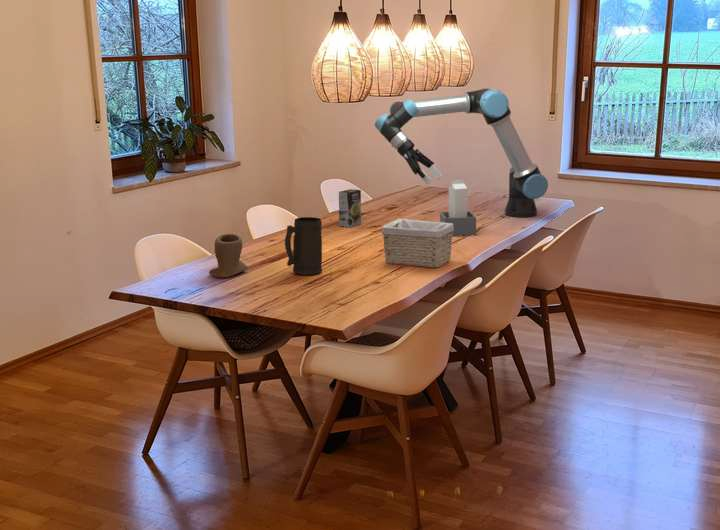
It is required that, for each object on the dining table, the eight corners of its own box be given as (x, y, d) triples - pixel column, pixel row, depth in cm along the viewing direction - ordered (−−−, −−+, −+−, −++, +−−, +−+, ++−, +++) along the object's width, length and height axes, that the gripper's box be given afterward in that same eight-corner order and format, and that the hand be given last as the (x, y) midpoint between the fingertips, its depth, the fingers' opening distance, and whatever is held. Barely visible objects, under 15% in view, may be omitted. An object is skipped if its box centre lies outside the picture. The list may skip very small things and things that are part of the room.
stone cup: (228, 281, 305) (226, 240, 301) (204, 277, 311) (201, 236, 307) (257, 271, 316) (254, 232, 313) (233, 267, 323) (231, 228, 319)
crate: (470, 228, 380) (470, 211, 378) (476, 235, 367) (476, 217, 364) (440, 229, 379) (440, 212, 377) (444, 236, 366) (444, 218, 364)
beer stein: (308, 266, 322) (306, 214, 317) (329, 271, 315) (327, 217, 310) (279, 275, 311) (276, 221, 306) (300, 280, 304) (298, 225, 299)
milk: (448, 229, 374) (448, 179, 369) (460, 228, 376) (460, 178, 371) (454, 232, 369) (454, 181, 363) (467, 231, 371) (467, 180, 365)
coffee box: (349, 228, 387) (349, 192, 383) (338, 226, 391) (337, 191, 386) (362, 224, 394) (361, 189, 390) (351, 222, 398) (350, 188, 393)
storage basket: (380, 263, 325) (379, 225, 321) (398, 254, 339) (398, 217, 335) (438, 270, 314) (438, 231, 310) (455, 260, 328) (455, 222, 324)
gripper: (407, 146, 386) (438, 181, 384) (386, 153, 364) (419, 190, 362) (418, 135, 383) (450, 170, 380) (397, 141, 361) (431, 178, 358)
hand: (435, 180), depth 371 cm, fingers open, 13 cm apart
